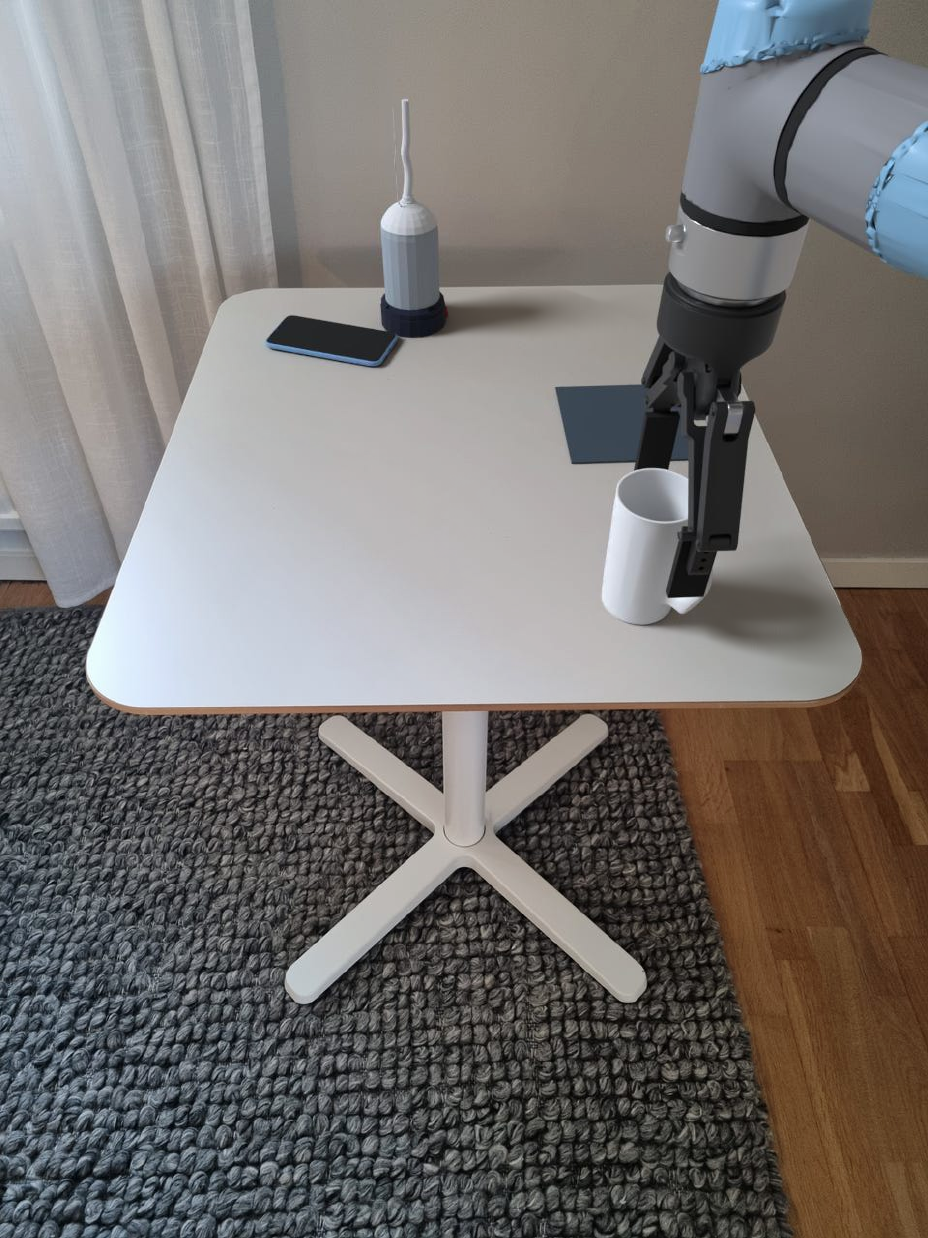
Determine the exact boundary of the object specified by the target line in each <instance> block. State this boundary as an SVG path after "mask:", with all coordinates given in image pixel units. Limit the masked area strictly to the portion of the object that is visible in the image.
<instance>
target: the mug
mask: <svg viewBox="0 0 928 1238" xmlns="http://www.w3.org/2000/svg"><path fill="white" fill-rule="evenodd" d="M682 526H688V476H687V477H686V476H685V475H683V474H681V473H679V472H677V471H674V470H670V469H668V470H666V469H659V468H645V469H639V470H635V471H634V470H633V471H630V472H628V473H626V474H625V475H623V476H622V477H621V478H620V479H619V481H618V482H617V485H616V487H615V497H614V500H613V507H612V512H611V520H610V528H609V535H608V541H607V542H608V543H607V548H606V549H607V550H606V556H605V563H604V569H603V579H602V587H601V601H602V604H603V607H604V608H605V609H606V611H607V612H608V613H609V614H611V615H612V616H613V617H614V618H616V619H618V620H619V621H622V622H624V623H627V624H631V625H641V626H643V625H650V624H654V623H657V622H659V621H661V620H664V618H665V617H667V616H668V614H669V613H670V611H671V609H674V610H675V611H676V612H677V613H679V614H680V615H685V614H687V613H688V612H690V611H691V610H692V609H693V608H694V607H697V605H698V604H699V603H701V601H703V599H704V598H706V596H707V595H708V594H709V591H710V589H711V587H712V582H713V578H714V577H713V575H714V566H713V567H712V571H711V574H710V577H709V580H708V584H707V587H706V590H705V593H704V597H684V598H668V597H667V594H666V587H667V584H668V580H669V576H670V572H671V568H672V564H673V560H674V556H675V553H676V549H677V545H678V541H679V540H678V536H677V532H681V529H682Z"/></svg>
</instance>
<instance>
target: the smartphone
mask: <svg viewBox="0 0 928 1238" xmlns="http://www.w3.org/2000/svg"><path fill="white" fill-rule="evenodd" d="M397 341H398V336H397V335H396V334H395V333H393V332H388V331H386V330H382V329H378V328H377V329H375V328H370V327H365V326H358V325H353V324H347V323H341V322H335V321H330V320H324V319H318V318H312V317H306V316H300V315H293V314H289V315H287V316H285V317H284V318H283V319H282V320H281V322H280V323H279V324H278V325H277V326H276V327H275V328H274V329H273V330H272V332H271V333H270V334H269V335H268V336H267V337H266V338H265V346H266V347H267V348H269V349H273V350H279V351H284V352H289V353H295V354H300V355H306V356H312V357H318V358H323V359H328V360H333V361H334V360H335V361H339V362H345V363H350V364H355V365H361V366H367V367H378V366H379V365H381V364H382V363H383V362H384V360H385V359H386V357H387V356H388V355H389V354H390V352H391V351H392V349H393V348H394V346H395V344H397Z"/></svg>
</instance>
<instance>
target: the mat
mask: <svg viewBox="0 0 928 1238" xmlns="http://www.w3.org/2000/svg"><path fill="white" fill-rule="evenodd" d="M554 389H555V395H556V398H557V404H558V408H559V412H560V417H561V421H562V426H563V429H564V435H565V436H564V437H565V440H566V445H567V449H568V454H569V459H570V463H571V464H572V465H578V464H579V465H580V464H609V463H635V462H636V457H637V451H638V446H639V441H640V436H641V430H642V425H643V420H644V415H645V412H648V411H649V408H646V406H645V403H644V398H645V395H646V393H647V392H648V391H649V389H643V387H642V384H641V383H640V384H639V383H638V384H611V385H610V384H607V385H606V384H605V385H573V386H555V387H554ZM670 411H678V412H679V414H680V420H679V425H678V429H677V434H676V438H675V442H674V447H673V451H672V456H671V460H670V462H672V461H673V462H674V461H688V447H689V443H688V440H687V439H685V438H684V437H683V436H682V433H681V407H680V408H671V410H670Z"/></svg>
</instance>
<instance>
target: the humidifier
mask: <svg viewBox="0 0 928 1238" xmlns="http://www.w3.org/2000/svg"><path fill="white" fill-rule="evenodd" d="M394 108H395V107H394V106H392V118H393V139H394V144H395V145H394V146H395V152H394V161H393V166H394V171H395V180H396V194H397V202H394V203H393V204H392V205H391V206H389V207H388V208H387V210H386V211H385V212H384V214H383V215H382V217H381V220H380V228H379V229H380V241H381V253H382V254H381V255H382V256H381V259H382V269H383V270H382V271H383V282H384V293H383V294H382V296H381V298H380V304H379V306H380V322H381V326H382V327H383V329H384V331H388V332H393V333H395V334H396V335H397V337H400V338H409V339H411V338H413V339H414V338H423V337H428V336H431V335H433V334H436V333H438V332H440V330H441V329H443V328H444V326H445V324H446V322H447V321H446V319H447V318H449V310H448V307H447V306H446V302H445V297H444V294H442V292H441V291H440V259H439V258H440V257H439V256H440V255H439V253H440V252H439V227H438V222H437V221H438V220H437V217H436V216H435V214H434V212H433V211H432V210H431V209H430V208H429V207H428V206H427V205H426V204H424V203H422V202H421V201H418V200H416V199H415V197H414V195H413V193H412V192H413V183H414V182H413V181H414V180H413V179H414V175H413V173H414V172H413V165H412V161H411V157H410V145H411V125H410V101H409V99H408V98H402V99H401V125H402V141H401V149H400V150H401V152H400V153H401V154H400V155H401V160H402V165H403V169H404V185H403V194H402V196H401V197H402V198H401V199H400V198H399V196H400V195H399V182H398V172H397V166H396V159H397V151H398V147H397V140H396V125H395V109H394Z"/></svg>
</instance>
